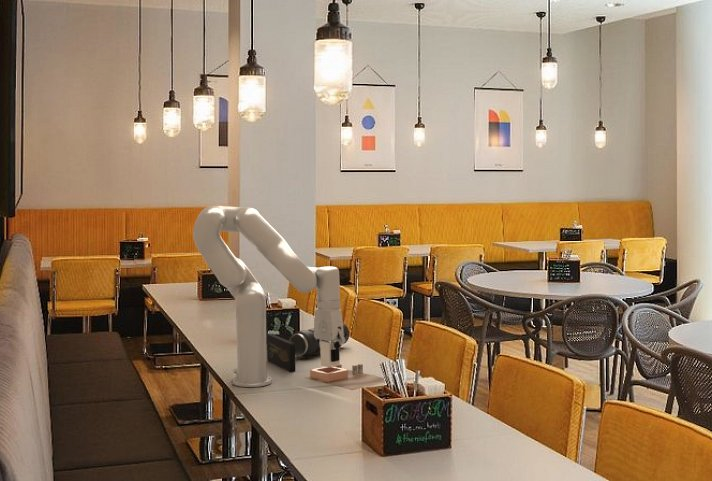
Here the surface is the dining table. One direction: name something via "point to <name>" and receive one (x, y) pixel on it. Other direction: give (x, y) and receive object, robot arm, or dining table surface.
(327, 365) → the white rectangular block
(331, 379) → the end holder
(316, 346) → the muzzle brake
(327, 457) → the dining table surface
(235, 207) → the robot arm
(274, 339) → the nameplate
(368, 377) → the board
